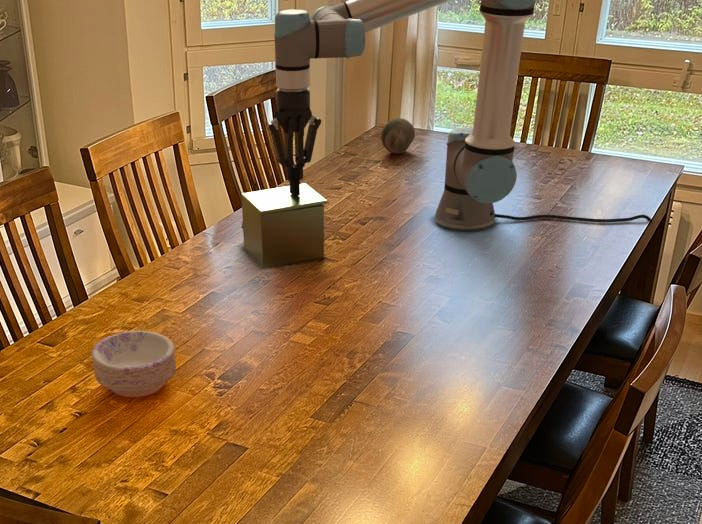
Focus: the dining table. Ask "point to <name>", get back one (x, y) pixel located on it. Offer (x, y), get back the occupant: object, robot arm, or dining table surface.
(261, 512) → the dining table surface
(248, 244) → the trash can
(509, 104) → the robot arm
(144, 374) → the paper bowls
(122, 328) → the dining table surface
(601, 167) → the dining table surface
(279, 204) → the bin lid
